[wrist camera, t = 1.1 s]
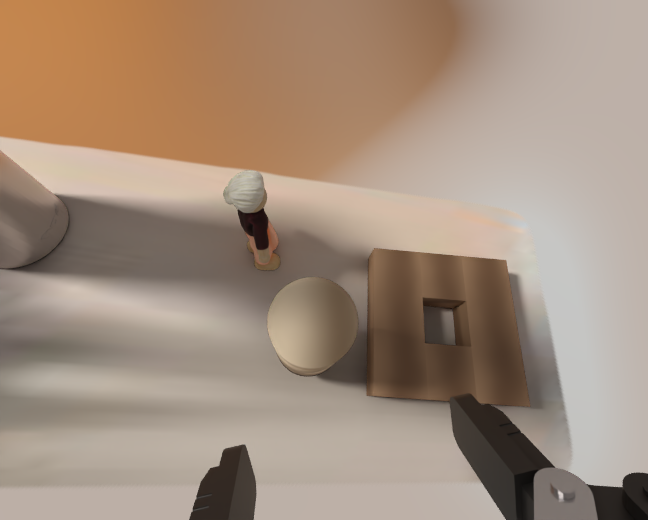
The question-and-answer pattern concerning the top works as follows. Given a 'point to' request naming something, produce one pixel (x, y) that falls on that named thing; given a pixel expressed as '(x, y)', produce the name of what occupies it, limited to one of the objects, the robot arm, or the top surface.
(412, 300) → the walnut board
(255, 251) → the grandmother figurine
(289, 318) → the beech peg
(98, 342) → the top surface
